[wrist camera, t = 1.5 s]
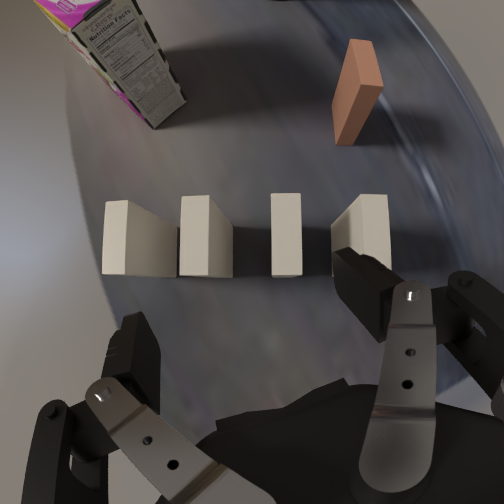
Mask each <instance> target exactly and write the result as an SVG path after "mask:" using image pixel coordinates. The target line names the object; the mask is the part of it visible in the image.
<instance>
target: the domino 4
mask: <svg viewBox="0 0 504 504" xmlns="http://www.w3.org/2000/svg"><path fill="white" fill-rule="evenodd" d="M383 87H384V86H383V82H382V78H381V74H380V70H379V66H378V63H377V59H376V55H375V52H374V49H373V45H372V42H371V41H365V40H357V39H350V42H349V46H348V49H347V53H346V57H345V60H344V64H343V67H342V71H341V74H340V78H339V81H338V85H337V88H336V91H335V95H334V98H333V102H332V105H331V107H332V115H333V123H334V132H335V141H336V145H347V146H353V144H354V142H355V140H356V138H357V136H358V134H359V133H360V131H361V129H362V127H363V125H364V123H365V121H366V120H367V118H368V116H369V114H370V112H371V110H372V108H373V106H374V104H375V103H376V101H377V99H378V97H379V95H380V93H381V91H382V89H383Z"/></svg>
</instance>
